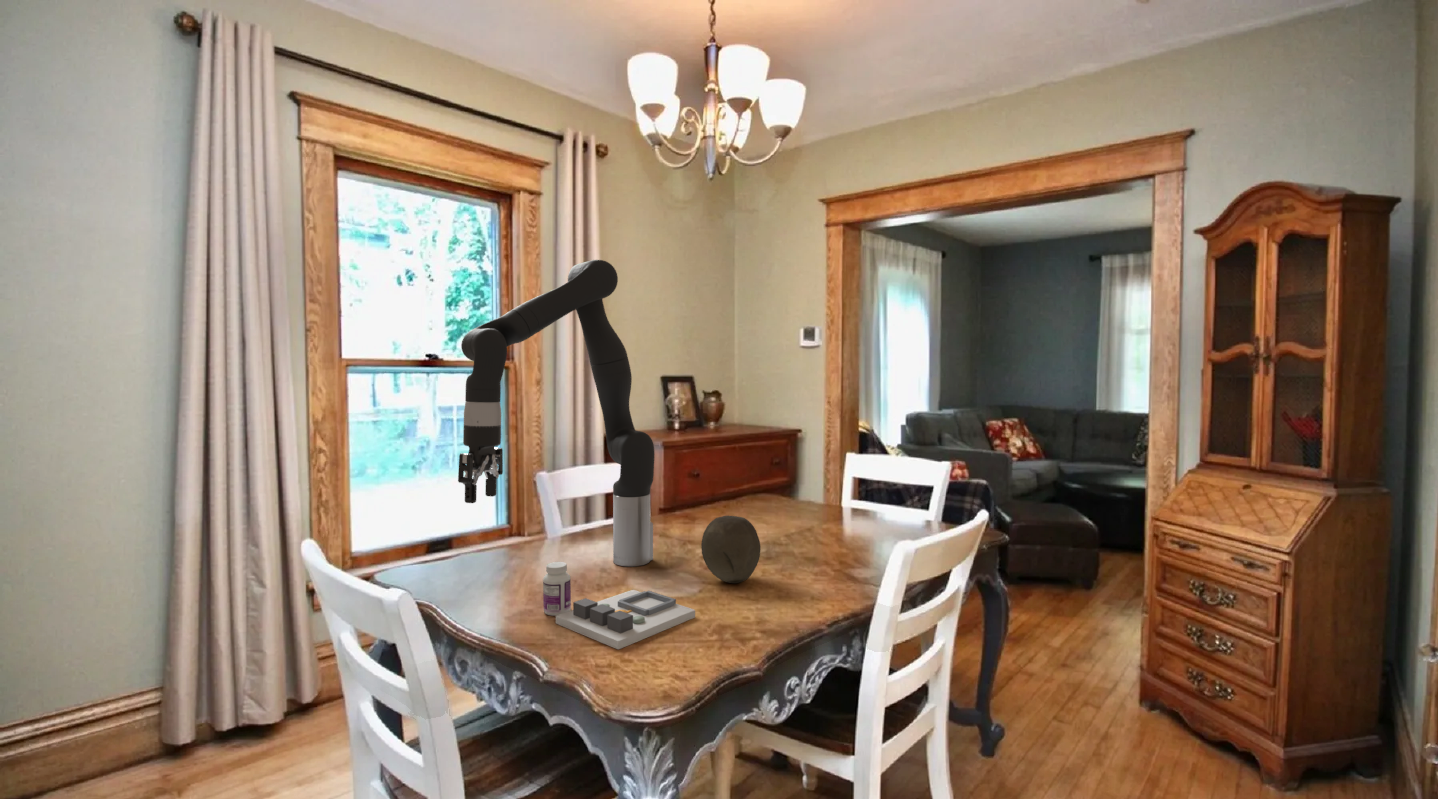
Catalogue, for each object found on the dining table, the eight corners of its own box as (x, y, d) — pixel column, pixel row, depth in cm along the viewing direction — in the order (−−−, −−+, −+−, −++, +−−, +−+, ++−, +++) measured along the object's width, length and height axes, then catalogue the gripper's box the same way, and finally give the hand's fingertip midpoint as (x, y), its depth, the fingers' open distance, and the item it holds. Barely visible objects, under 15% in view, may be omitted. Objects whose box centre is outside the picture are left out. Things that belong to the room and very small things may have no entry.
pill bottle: (561, 604, 140) (561, 558, 140) (575, 611, 137) (575, 564, 136) (538, 611, 137) (537, 564, 136) (552, 618, 133) (551, 570, 132)
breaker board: (633, 596, 146) (633, 578, 145) (695, 617, 134) (695, 597, 134) (555, 623, 130) (555, 603, 130) (618, 649, 119) (618, 627, 118)
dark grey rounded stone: (773, 580, 157) (774, 516, 156) (732, 595, 147) (733, 527, 146) (728, 567, 166) (728, 507, 166) (687, 580, 156) (687, 516, 155)
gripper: (481, 426, 136) (480, 506, 137) (514, 422, 150) (513, 494, 151) (447, 424, 137) (445, 504, 138) (483, 420, 151) (481, 492, 152)
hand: (481, 499), depth 144 cm, fingers open, 8 cm apart
